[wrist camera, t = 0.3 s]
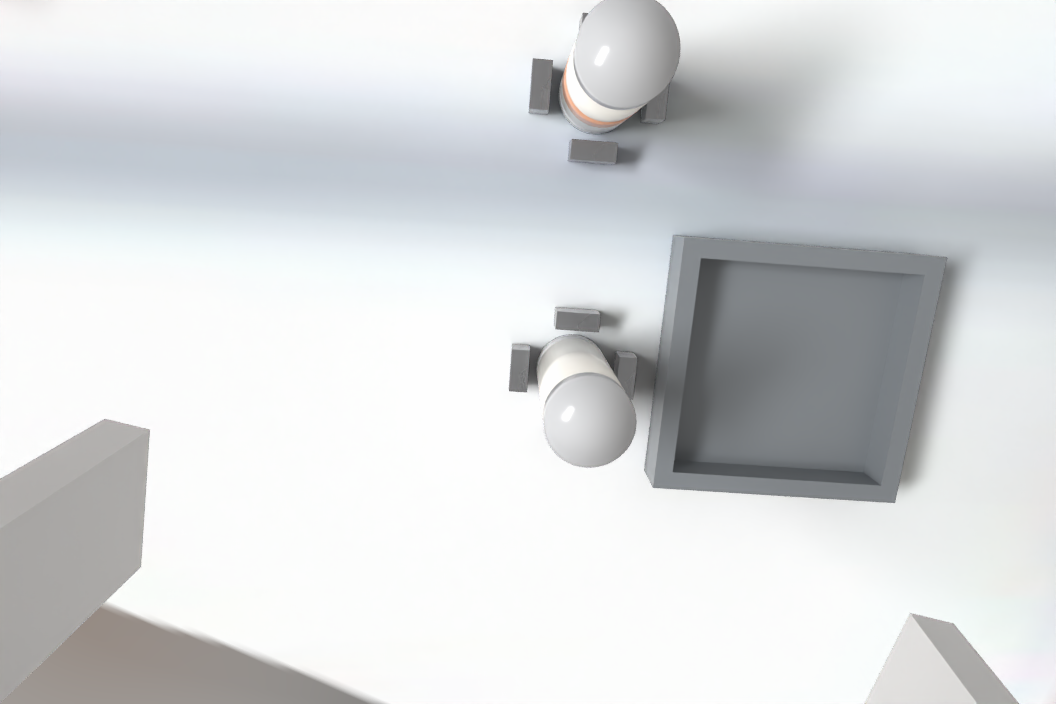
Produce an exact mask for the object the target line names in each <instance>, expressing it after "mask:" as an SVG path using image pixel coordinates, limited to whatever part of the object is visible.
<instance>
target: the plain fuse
mask: <svg viewBox="0 0 1056 704" xmlns="http://www.w3.org/2000/svg"><path fill="white" fill-rule="evenodd" d="M536 371H537V379H538V386H539V394H540V402H541V409H542V417H543V425H544V432H545V436H546V439H547V442H548V444H549V446H550V447H551V449H552V450H553V451H554V453H555V454H556V455H557V456H559V457H560V458H561V459H562V460H564V461H566V462H568V463H570V464H572V465H575V466H579V467H586V468H592V467H599V466H603V465H606V464H608V463H610V462H612V461H614V460H616V459H617V458H619V457H620V456H621V455H622V454H623V453H624V452H625V451H626V450H627V449H628V447H629V446H630V444H631V442H632V440H633V438H634V435H635V431H636V414H635V410H634V407H633V404H632V403H631V401H630V399H629V397H628V396H627V394H626V392H625V391H624V389H623V387H622V386H621V384H620V382H619V381H618V379H617V377H616V376H615V374H614V372H613V370H612V369H611V367H610V365H609V364H608V362H607V360H606V359H605V357H604V355H603V354H602V352H601V350H600V349H599V348H598V346H597V345H596V344H595V343H594V342H592V341H591V340H590V339H588V338H586V337H584V336H580V335H575V334H568V335H563V336H559V337H557V338H555V339H553V340H551V341H550V342H549V343H548V344H547V345H546V346H545V347H544V348H543V349H542V351H541V352H540V355H539V357H538V360H537V366H536Z"/></svg>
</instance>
